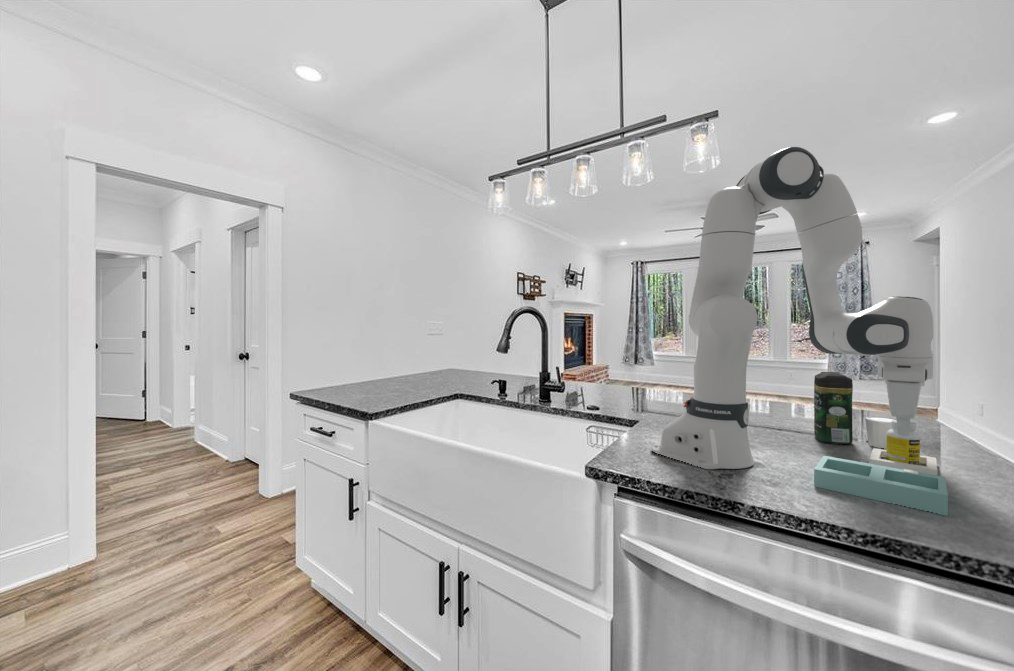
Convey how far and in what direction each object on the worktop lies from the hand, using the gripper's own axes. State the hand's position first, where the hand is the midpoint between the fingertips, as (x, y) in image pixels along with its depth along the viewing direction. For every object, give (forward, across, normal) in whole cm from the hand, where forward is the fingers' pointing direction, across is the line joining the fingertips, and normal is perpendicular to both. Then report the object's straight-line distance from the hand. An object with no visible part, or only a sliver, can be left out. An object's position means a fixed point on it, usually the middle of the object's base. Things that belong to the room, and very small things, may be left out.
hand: (904, 430), depth 91 cm
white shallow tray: (+8, 0, 0) cm, 8 cm away
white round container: (+8, -15, -4) cm, 17 cm away
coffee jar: (+8, -13, -14) cm, 21 cm away
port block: (+8, +22, -3) cm, 24 cm away
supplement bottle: (+8, 0, 0) cm, 8 cm away
